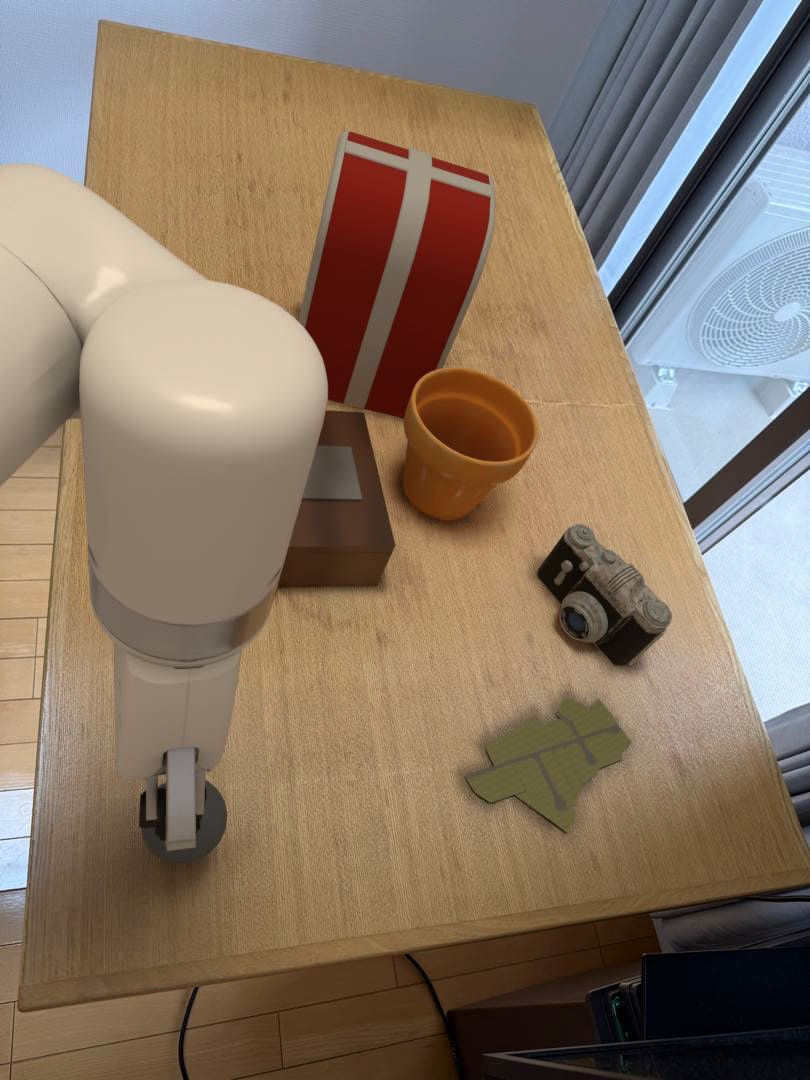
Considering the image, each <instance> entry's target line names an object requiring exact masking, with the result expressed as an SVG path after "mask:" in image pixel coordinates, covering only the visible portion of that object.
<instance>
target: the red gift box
mask: <svg viewBox="0 0 810 1080" xmlns="http://www.w3.org/2000/svg"><path fill="white" fill-rule="evenodd" d="M494 183H495V182H494V179H493V177H492V176H491V175H490V174H487V173H485V172H481V171H477V170H474V169H471V168H469V167H464V166H462V165H458V164H455V163H453V162H449V161H446V160H443V159H439V158H436V157H434V156H432V154H431V153H428V152H425V151H421V150H420V149H419V150H418V149H416V148H412V147H409V148H406V147H405V148H404V147H402V146H398V145H396V144H392V143H389V142H385V141H384V140H383V141H382V140H379V139H376V138H373V137H370V136H366V135H363V134H359V133H357V132H354V131H349V130H344V131H342V132H341V134H339V137H338V140H337V144H336V148H335V153H334V158H333V163H332V167H331V171H330V176H329V181H328V185H327V188H326V189H327V190H326V193H325V199H324V203H323V208H322V212H321V217H320V221H319V226H318V230H317V234H316V240H315V244H314V247H313V252H312V255H311V258H310V263H309V267H308V273H307V276H306V282H305V288H304V291H303V297H302V302H301V307H300V312H299V317H298V320H297V321H298V322H299V323H300V324H301V325H302V326H303V327H304V328H305V329H306V331H307V332H308V334H309V335H310V336H311V338H312V339H313V341H314V342H315V344H316V346H317V348H318V350H319V352H320V354H321V356H322V359H323V362H324V366H325V370H326V376H327V382H328V400H327V401H332V402H336V403H340V404H343V405H345V406H347V407H351V408H355V409H360V410H369V411H372V412H376V413H380V414H385V415H388V416H393V417H396V418H401V419H404V416H405V412H406V409H407V406H408V403H409V400H410V397H411V394H412V391H413V389H414V387H415V385H416V383H417V382H418V381H419V380H420V379H421V378H422V377H423V376H424V375H426V374H427V373H429V372H432V371H434V370H437V369H441V368H445V365H446V362H447V360H448V357H449V355H450V352H451V350H452V348H453V345H454V342H455V340H456V338H457V336H458V333H459V331H460V329H461V327H462V324H463V322H464V320H465V316H466V314H467V312H468V310H469V307H470V304H471V302H472V301H473V297H474V295H475V293H476V290H477V287H478V285H479V283H480V279H481V277H482V274H483V271H484V268H485V266H486V263H487V259H488V255H489V253H490V249H491V245H492V241H493V236H494V231H495V225H496V205H497V204H496V190H495V184H494Z"/></svg>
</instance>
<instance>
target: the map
mask: <svg viewBox="0 0 810 1080" xmlns="http://www.w3.org/2000/svg"><path fill="white" fill-rule="evenodd" d="M555 716H556V717H558V718H559V719H556V720H553V721H549V722H546V723H543V724H541V721H540V720H539V718H538V716H537V714H534V716H533V717H532V718H531V719H530V720H529V721H527V722H526V723H523V724H522V725H520V726H518V727H517V728H514V729H513V730H512V731H510V732H508V733H506V734H505V735H503V736H502V737H500V738H498V739H496V740H495V741H493V742H492V743H490V744H488V745H486V746H485V751H486V752H487V755H488V757H489V758H490V761H491V762H492V766H490V767H487V768H483V769H481V770H478V771H475V772H472V773H469V774H467V775H464V777H465V779H466V781H467V783H468V784H469V786H470V787H471V789H472V791H473V792H474V793H475V794H476V795H477V796H479V797H481V798H482V799H484V800H485V801H487V802H488V803H491V804H492V803H496V802H498V801H501V800H503V799H506V798H507V799H508V798H509V797H512V796H515V797H516V798H518V799H519V800H520V801H522V802H523V803H525V804H526V805H528V806H529V807H531V808H532V809H533V810H535V811H536V812H538V813H539V814H540V815H542V816H543V817H544V818H546V819H547V820H549V821H550V822H552V823H553V824H554V825H556V826H557V827H559V828H560V829H561V830H563V831H564V832H565V833H569V830H570V828H571V826H572V824H573V822H574V820H575V818H576V816H577V813H576V812H575V810H574V809H573V808H574V806H575V804H576V801H577V800H578V798H579V794H580V792H581V790H582V789H583V786H584V785H585V784H587V783H588V781H591V779H592V778H593V777H595V776H596V775H597V774H598V773H599V769H601V768H604V767H607V766H608V765H610V764H614V763H617V762H619V761H622V760H623V759H624V757H623V751H625V750H626V749H627V748H628V747H629V746H630V745H631V744H632V743H633V741H632V740H631V739H630V738H629V737H628V736H627V735H626V733H625V732H624V731H623V729H622V728H621V727H620V726H619V724H618V723H617V722H616V721H615V720H614V716H613V713H612V712H611V711H610V710H609V709H608V708H607V707H606V705H605V704H604V703H603V702H602V700H600V698H597V699H596V700H595V702H594V703H593V705H592V706H591V708H589V707H587V706H585V705H583V704H581V703H580V702H578V701H576V700H575V699H573V698H571V697H570V696H567V697H566V698H565V700H564V701H563V703H562V704H561V706H560V707H559V708H558V710H557V712H556V713H555Z"/></svg>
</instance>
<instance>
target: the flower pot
mask: <svg viewBox="0 0 810 1080" xmlns="http://www.w3.org/2000/svg"><path fill="white" fill-rule="evenodd" d="M403 430H404V435H405V438H406V440H407V443H406V451H405V459H404V460H405V461H404V469H403V480H402V481H403V483H402V485H403V486H402V487H403V491H404V494H405V496H406V498H407V500H408V501H409V502H410V503H411V505H412V506H414V507H415V509H417V510H418V511H420V512H421V513H422V514H424V515H426V516H429V517H431V518H435V519H438V520H441V521H442V520H443V521H454V520H458V519H461V518H464V517H465V516H467V515H468V514H470V513H471V511H472V510H473V509H475V508H476V507H477V506H478V504H480V503H481V502H482V501H483V500H484V499H485V498H486V497H487V496H488V495H489V494H490V493H491V492H492V491H493V490H494V488H495V487H496V486H498V485H500V484H503V483H506V482H507V481H509V480H511V479H513V478H515V476H517V474H519V472H520V471H521V470H522V469H523V468H524V466H525V464H526V463H527V462H528V460H529V458H530V457H531V455H532V453H533V452H534V450H535V448H536V446H537V444H538V441H539V435H540V434H539V424H538V420H537V417H536V415H535V412H534V410H532V408H531V406H530V404H529V403H528V402H527V401H526V400H525V398H523V396H522V395H521V394H520V393H518V392H517V390H515V389H514V388H513V387H512V386H510V385H509V384H508V383H506V382H504V381H502V380H501V379H499V378H497V377H495V376H493V375H491V374H488V373H486V372H483V371H480V370H477V369H472V368H468V367H460V366H457V367H456V366H450V367H449V366H448V367H443V368H441V369H437V370H434V371H432V372H429V373H427V374H426V375H424V376H423V377H422V378H421V379H420V380H419V381H418V382H417V383H416V385H415V387H414V389H413V391H412V394H411V397H410V400H409V403H408V406H407V409H406V412H405V416H404V418H403Z"/></svg>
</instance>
